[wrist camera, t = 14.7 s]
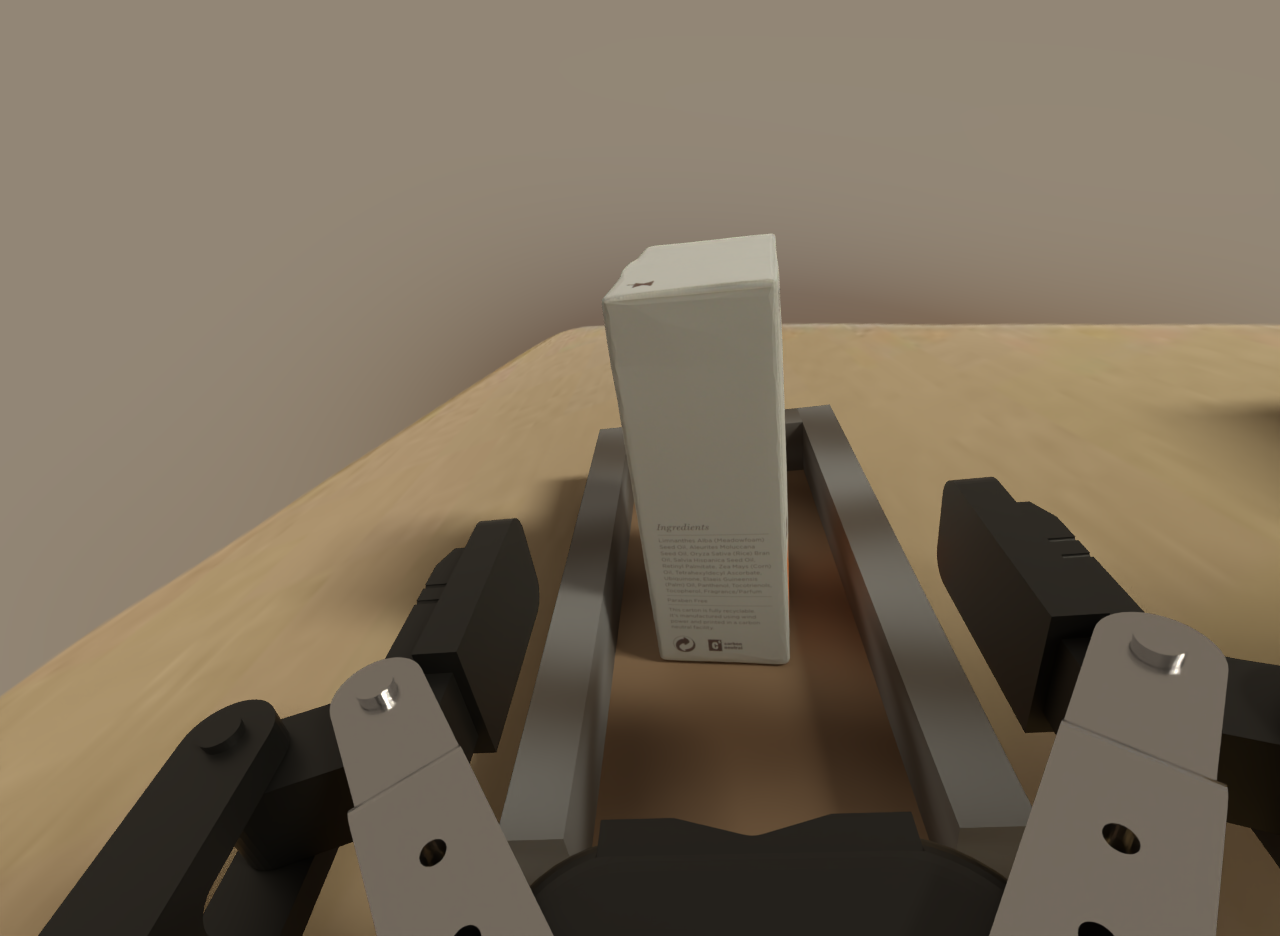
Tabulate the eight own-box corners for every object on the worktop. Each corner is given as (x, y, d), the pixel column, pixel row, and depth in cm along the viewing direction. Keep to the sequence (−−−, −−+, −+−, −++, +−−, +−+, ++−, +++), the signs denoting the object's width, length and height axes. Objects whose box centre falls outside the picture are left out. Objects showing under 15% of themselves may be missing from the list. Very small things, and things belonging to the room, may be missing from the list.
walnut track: (1016, 914, 14) (1041, 825, 12) (530, 920, 15) (495, 840, 13) (829, 465, 31) (829, 404, 30) (611, 486, 32) (600, 429, 31)
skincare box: (794, 669, 19) (779, 279, 14) (659, 664, 20) (591, 297, 15) (790, 549, 25) (778, 228, 19) (682, 549, 26) (639, 245, 20)
